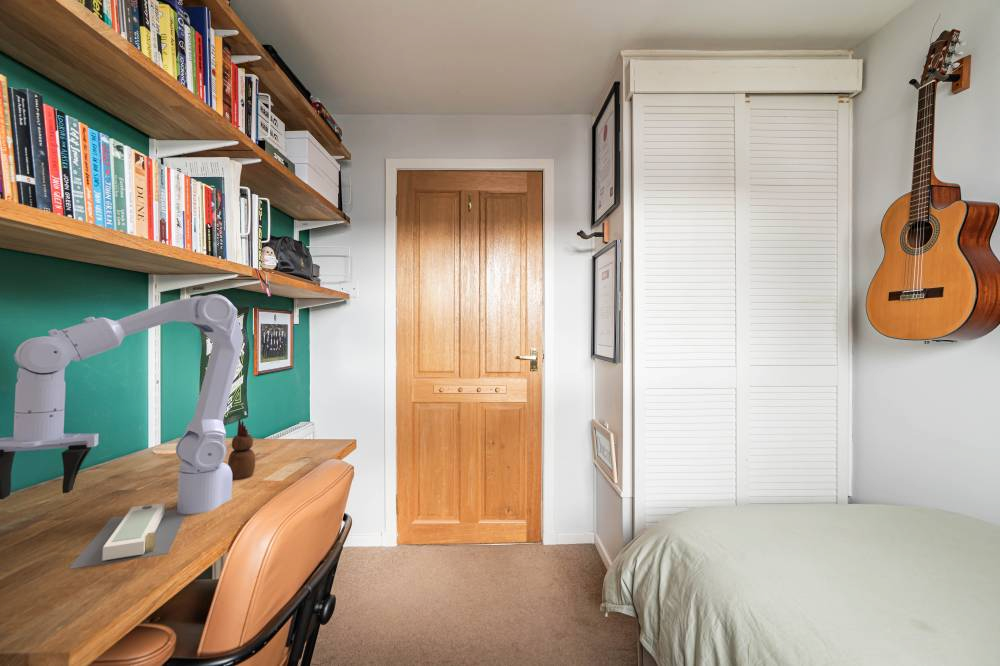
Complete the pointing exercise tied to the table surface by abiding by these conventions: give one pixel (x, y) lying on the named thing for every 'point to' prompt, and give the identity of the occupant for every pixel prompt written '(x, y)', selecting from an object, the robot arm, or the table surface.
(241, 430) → the wooden figurine
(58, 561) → the table surface
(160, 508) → the frame
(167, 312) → the robot arm
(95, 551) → the board
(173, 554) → the table surface
